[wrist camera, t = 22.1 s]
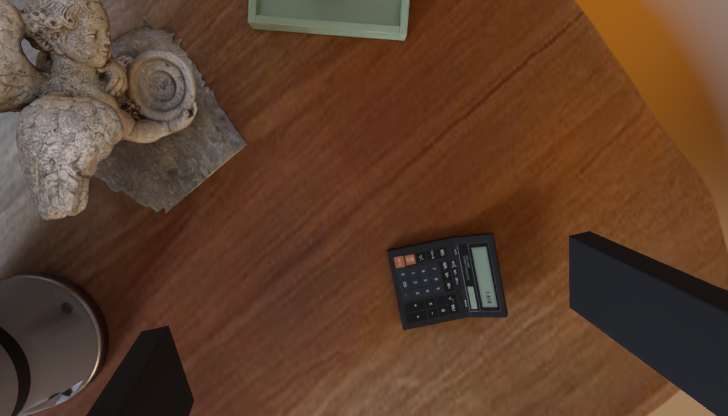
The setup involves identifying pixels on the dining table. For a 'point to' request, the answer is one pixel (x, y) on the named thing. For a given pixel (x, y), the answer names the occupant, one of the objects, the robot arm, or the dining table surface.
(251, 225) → the dining table surface
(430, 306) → the calculator
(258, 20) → the tray
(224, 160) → the cherub figurine
